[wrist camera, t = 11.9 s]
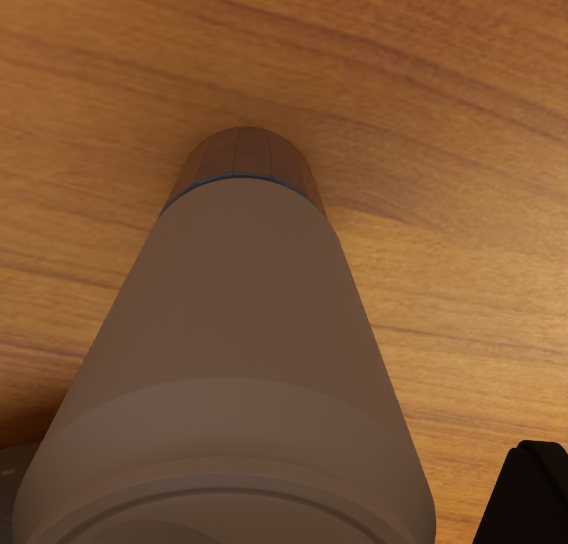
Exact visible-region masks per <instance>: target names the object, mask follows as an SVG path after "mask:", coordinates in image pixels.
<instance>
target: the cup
mask: <svg viewBox="0 0 568 544" xmlns="http://www.w3.org/2000/svg"><path fill="white" fill-rule="evenodd" d="M231 178H253V179H261V180H266V181H270V182H273V183H277V184H280V185H282V186H285V187H287V188H289V189H291V190H293V191H295V192H297V193H299V194H300V195H302V196H303V197H305V198H306V199H307V200H309V201H310V202H311V203H312V204H314V205H315V206H316V207H317V208H318V209H319V210H320V211H321V212H322V213H323V215H324V216H325V217H326V218H327V215H326V212H325V210H324V207H323V204H322V201H321V198H320V195H319V193H318V190H317V187H316V184H315V181H314V178H313V175H312V173H311V170H310V168H309V166H308V164H307V163H306V161H305V159H304V158H303V156H302V155H301V153H300V152H299V151H298V150H297V149H296V148H295V147H294V146H293V145H292V144H291V143H290V142H289V141H287V140H286V139H284V138H283V137H281V136H280V135H278V134H276V133H273V132H271V131H268V130H265V129H261V128H256V127H235V128H230V129H226V130H223V131H220V132H218V133H216V134H214V135H212V136H210V137H209V138H207V139H206V140H204V141H203V142H202V143H201V144H200V145H199V146H197V147H196V149H195V150H194V151H193V152H192V153H191V155H189V157H188V159H187V161H186V163H185V165H184V167H183V169H182V171H181V173H180V175H179V177H178V179H177V181H176V183H175V185H174V187H173V189H172V191H171V193H170V195H169V197H168V199H167V201H166V203H165V205H164V207H163V209H162V211H161V213H160V215H159V217H160V216H161V215H162V214H163V212H164V211H165V210H166V209H167V208H168V207H169V206H170V205H171V204H173V203H174V202H175V201H176V200H177V199H179V198H180V197H181V196H183V195H184V194H186V193H188V192H189V191H191V190H193V189H195V188H197V187H199V186H202V185H205V184H207V183H211V182H214V181H219V180H224V179H231ZM159 217H158V219H159ZM158 219H157V220H158ZM327 219H328V218H327Z"/></svg>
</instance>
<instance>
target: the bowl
mask: <svg viewBox="0 0 568 544" xmlns="http://www.w3.org/2000/svg"><path fill="white" fill-rule="evenodd" d="M41 442H42V441H40V442H32V443H26V444H20V445H15V446H11V447H7V448H3V449H0V544H13V541H12V515H13V508H14V503H15V499H16V496H17V493H18V489H19V487H20V485H21V482H22V480H23V478H24V475H25V473H26V471H27V470H28V468H29V466H30V464H31V462H32V460H33V458H34V456H35V454H36V452H37V450H38V448H39V446H40V444H41Z"/></svg>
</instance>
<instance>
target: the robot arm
mask: <svg viewBox="0 0 568 544" xmlns="http://www.w3.org/2000/svg"><path fill="white" fill-rule="evenodd" d="M472 544H568V454H567V453H566V451H565V450H564V448H563V447H562V446H561V445H560V444H558V443H556V442H545V441H532V440H523V441H521V442H520V443H519V444H518V446H517V448H512V449H510V450H509V452H508V454H507V457H506V459H505V462H504V464H503V467H502V469H501V472H500V474H499V477H498V479H497V482H496V484H495V487H494V490H493V492H492V495H491V497H490V500H489V502H488V505H487V507H486V510H485V512H484V515H483V517H482V520H481V522H480V525H479V528H478V530H477V533H476V535H475V538H474V540H473V543H472Z"/></svg>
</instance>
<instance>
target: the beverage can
mask: <svg viewBox="0 0 568 544" xmlns="http://www.w3.org/2000/svg"><path fill="white" fill-rule="evenodd" d="M435 535H436V516H435V506H434V501H433V498H432V494H431V491H430V488H429V485H428V482H427V480H426V477H425V474H424V471H423V469H422V466H421V463H420V460H419V458H418V455H417V452H416V449H415V447H414V444H413V441H412V439H411V436H410V433H409V430H408V428H407V425H406V422H405V419H404V417H403V414H402V411H401V408H400V406H399V403H398V400H397V397H396V395H395V392H394V389H393V386H392V384H391V381H390V378H389V376H388V373H387V370H386V367H385V365H384V362H383V359H382V356H381V354H380V351H379V348H378V345H377V343H376V340H375V337H374V334H373V332H372V329H371V326H370V323H369V321H368V318H367V315H366V313H365V310H364V307H363V304H362V302H361V299H360V296H359V293H358V291H357V288H356V285H355V282H354V280H353V277H352V274H351V271H350V269H349V266H348V263H347V260H346V258H345V255H344V252H343V250H342V247H341V244H340V241H339V239H338V236H337V234H336V232H335V231H334V229H333V227H332V225H331V224H330V222H329V221H328V219H327V218H326V217H325V216H324V215H323V213H322V212H321V211H320V210H319V209H318V208H317V207H316V206H315V205H314V204H312V203H311V202H310V201H309V200H307V199H306V198H305V197H303V196H302V195H300V194H299V193H297V192H295V191H293V190H291V189H289V188H287V187H285V186H282V185H280V184H277V183H273V182H270V181H266V180H261V179H253V178H231V179H224V180H219V181H214V182H211V183H207V184H205V185H202V186H199V187H197V188H195V189H193V190H191V191H189V192H188V193H186V194H184V195H183V196H181V197H180V198H179V199H177V200H176V201H175V202H174V203H173V204H171V205H170V206H169V207H168V208H167V209H166V210H165V211H164V212H163V214H162V215H161V216H160V217H159V219H158V220H157V221H156V223H155V224H154V226H153V228H152V230H151V232H150V234H149V236H148V238H147V240H146V241H145V243H144V245H143V247H142V249H141V251H140V253H139V255H138V257H137V259H136V261H135V263H134V265H133V267H132V269H131V270H130V272H129V274H128V276H127V278H126V280H125V282H124V284H123V286H122V288H121V290H120V292H119V294H118V296H117V298H116V299H115V301H114V303H113V305H112V307H111V309H110V311H109V313H108V315H107V317H106V319H105V321H104V323H103V325H102V327H101V328H100V330H99V332H98V334H97V336H96V338H95V340H94V342H93V344H92V346H91V348H90V350H89V352H88V354H87V356H86V357H85V359H84V361H83V363H82V365H81V367H80V369H79V371H78V373H77V375H76V377H75V379H74V381H73V383H72V384H71V386H70V388H69V390H68V392H67V394H66V396H65V398H64V400H63V402H62V404H61V406H60V408H59V410H58V412H57V413H56V415H55V417H54V419H53V421H52V423H51V425H50V427H49V429H48V431H47V433H46V435H45V437H44V439H43V441H42V442H41V444H40V446H39V448H38V450H37V452H36V454H35V456H34V458H33V460H32V462H31V464H30V466H29V468H28V470H27V471H26V473H25V475H24V478H23V480H22V482H21V485H20V487H19V489H18V493H17V496H16V499H15V503H14V508H13V515H12V541H13V544H434V543H435Z"/></svg>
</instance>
